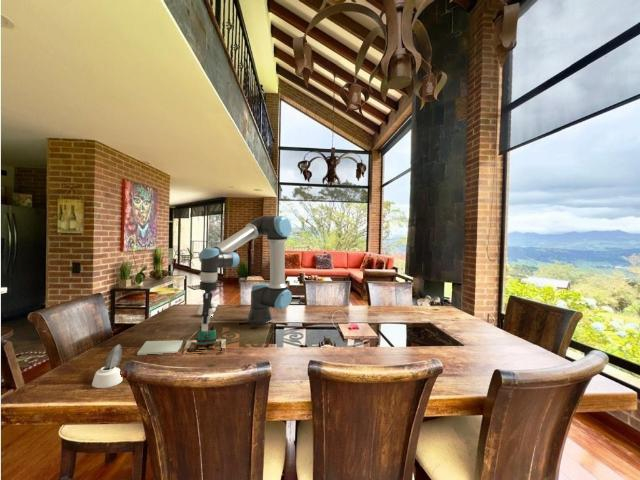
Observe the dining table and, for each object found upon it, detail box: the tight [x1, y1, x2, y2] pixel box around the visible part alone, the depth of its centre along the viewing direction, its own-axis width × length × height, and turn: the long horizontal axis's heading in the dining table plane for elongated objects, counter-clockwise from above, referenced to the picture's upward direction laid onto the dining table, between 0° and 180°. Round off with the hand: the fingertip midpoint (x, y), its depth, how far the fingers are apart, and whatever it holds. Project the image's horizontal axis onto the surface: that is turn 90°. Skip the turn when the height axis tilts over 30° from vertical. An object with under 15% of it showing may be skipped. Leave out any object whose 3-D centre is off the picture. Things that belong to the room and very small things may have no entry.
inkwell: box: [91, 343, 124, 389], centre depth 120 cm, size 9×18×10 cm, turn 19°
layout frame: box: [183, 338, 227, 350], centre depth 155 cm, size 18×17×1 cm
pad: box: [136, 339, 184, 356], centre depth 150 cm, size 16×15×1 cm
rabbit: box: [197, 300, 218, 318], centre depth 207 cm, size 12×9×12 cm
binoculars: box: [194, 324, 217, 350], centre depth 155 cm, size 9×11×10 cm
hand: (205, 326), depth 154 cm, fingers open, 13 cm apart
